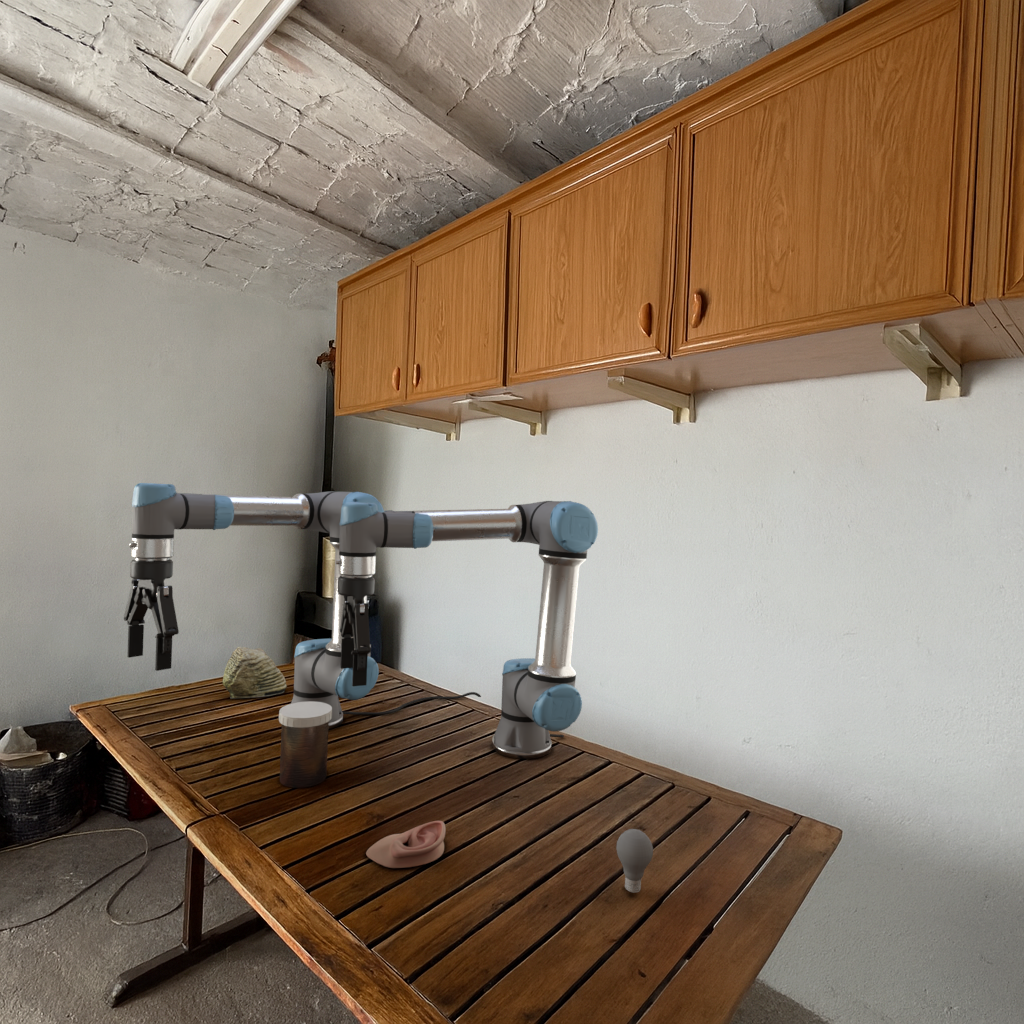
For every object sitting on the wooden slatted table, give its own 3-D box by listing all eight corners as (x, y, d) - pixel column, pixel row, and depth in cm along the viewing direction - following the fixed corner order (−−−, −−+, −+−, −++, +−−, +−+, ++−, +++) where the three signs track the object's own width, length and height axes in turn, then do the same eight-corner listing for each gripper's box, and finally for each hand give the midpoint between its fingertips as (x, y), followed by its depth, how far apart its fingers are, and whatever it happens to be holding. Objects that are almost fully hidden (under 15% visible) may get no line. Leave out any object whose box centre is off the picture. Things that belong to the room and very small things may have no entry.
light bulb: (610, 879, 108) (613, 822, 108) (644, 879, 109) (647, 822, 109) (619, 902, 102) (622, 840, 102) (655, 901, 103) (658, 840, 103)
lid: (317, 707, 150) (317, 698, 150) (340, 720, 142) (341, 711, 142) (270, 716, 142) (270, 707, 142) (292, 731, 134) (292, 721, 134)
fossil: (218, 695, 195) (220, 647, 195) (278, 685, 208) (279, 640, 207) (228, 703, 189) (230, 653, 188) (289, 692, 201) (290, 645, 201)
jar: (314, 764, 149) (316, 701, 149) (334, 779, 142) (337, 713, 142) (272, 776, 142) (274, 709, 142) (291, 792, 135) (294, 722, 135)
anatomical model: (359, 840, 110) (385, 809, 121) (358, 862, 110) (384, 829, 121) (431, 852, 107) (451, 819, 119) (431, 875, 107) (451, 840, 119)
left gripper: (108, 554, 134) (104, 654, 134) (159, 565, 118) (155, 678, 119) (146, 552, 140) (143, 648, 140) (199, 563, 124) (195, 671, 124)
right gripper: (329, 568, 143) (325, 662, 143) (349, 584, 120) (345, 695, 120) (362, 568, 146) (359, 660, 146) (388, 583, 123) (384, 691, 124)
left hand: (148, 662), depth 129 cm, fingers open, 13 cm apart
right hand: (352, 676), depth 133 cm, fingers open, 13 cm apart
